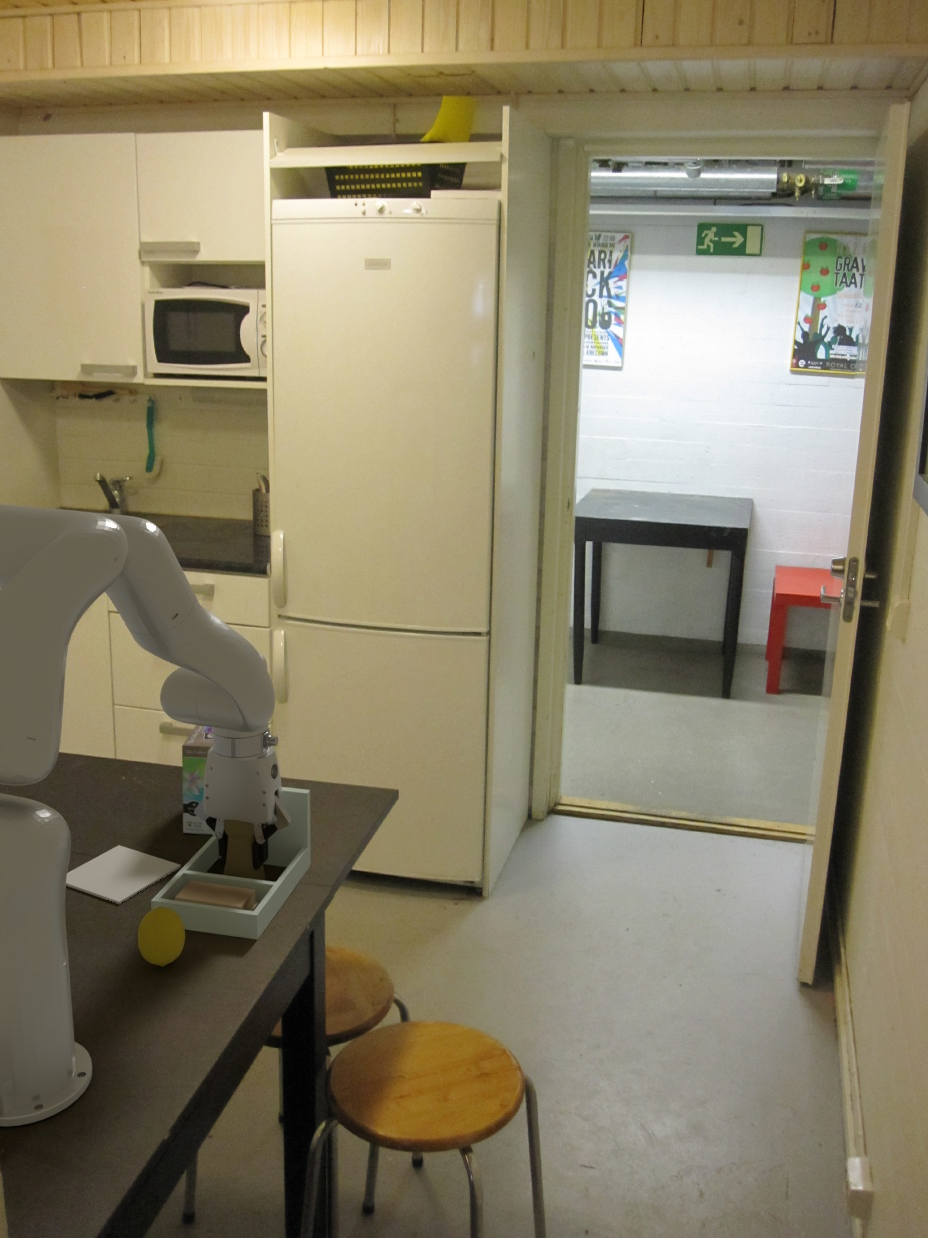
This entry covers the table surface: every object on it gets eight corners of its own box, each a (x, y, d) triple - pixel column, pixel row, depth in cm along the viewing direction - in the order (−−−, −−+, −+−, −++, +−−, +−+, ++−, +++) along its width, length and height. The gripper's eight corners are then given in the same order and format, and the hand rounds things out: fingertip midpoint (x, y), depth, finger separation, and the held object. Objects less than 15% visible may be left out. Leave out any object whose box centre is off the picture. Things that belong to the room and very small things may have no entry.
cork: (214, 889, 149) (211, 817, 147) (235, 870, 155) (233, 799, 152) (253, 897, 148) (251, 824, 145) (273, 877, 153) (272, 806, 150)
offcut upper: (241, 920, 139) (240, 906, 138) (175, 910, 141) (175, 897, 140) (255, 903, 143) (255, 889, 143) (191, 894, 145) (191, 880, 144)
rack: (257, 940, 138) (255, 854, 134) (152, 924, 140) (148, 841, 137) (310, 866, 157) (310, 790, 154) (217, 853, 160) (214, 779, 156)
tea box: (247, 837, 165) (245, 747, 161) (181, 835, 165) (178, 745, 161) (264, 796, 180) (262, 712, 176) (204, 794, 180) (201, 711, 176)
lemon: (137, 957, 133) (134, 899, 131) (183, 950, 135) (181, 893, 133) (141, 982, 128) (137, 922, 126) (188, 974, 130) (186, 915, 128)
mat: (119, 904, 145) (119, 902, 145) (55, 882, 150) (55, 879, 150) (180, 867, 155) (180, 865, 155) (118, 847, 160) (118, 845, 160)
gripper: (308, 737, 148) (309, 858, 153) (195, 725, 151) (199, 844, 156) (289, 757, 141) (291, 883, 145) (170, 744, 144) (176, 868, 149)
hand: (243, 862), depth 150 cm, fingers closed on cork, 4 cm apart
